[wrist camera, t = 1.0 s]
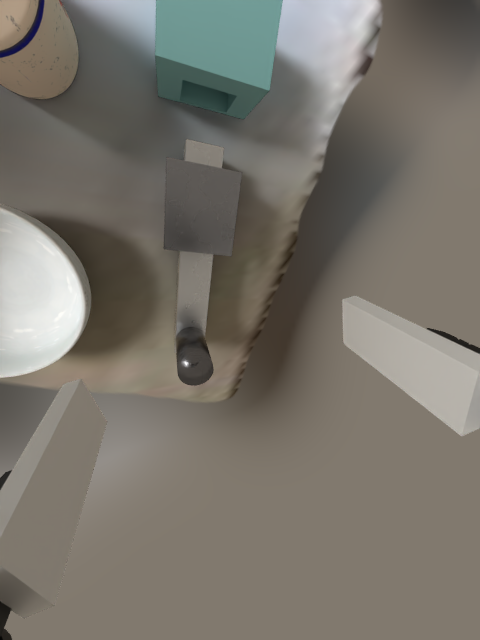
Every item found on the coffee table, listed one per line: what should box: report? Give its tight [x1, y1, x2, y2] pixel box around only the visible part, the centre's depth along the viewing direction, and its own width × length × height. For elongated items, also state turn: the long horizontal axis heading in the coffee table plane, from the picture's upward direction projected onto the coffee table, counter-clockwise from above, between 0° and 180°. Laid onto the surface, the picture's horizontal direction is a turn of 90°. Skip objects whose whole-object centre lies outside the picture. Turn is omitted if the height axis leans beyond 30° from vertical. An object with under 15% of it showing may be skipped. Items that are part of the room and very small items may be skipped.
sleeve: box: [164, 157, 242, 256], centre depth 28 cm, size 7×8×6 cm
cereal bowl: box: [0, 204, 91, 377], centre depth 26 cm, size 17×17×7 cm
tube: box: [174, 139, 224, 385], centre depth 27 cm, size 4×23×10 cm, turn 172°
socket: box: [155, 0, 283, 119], centre depth 22 cm, size 9×7×8 cm
